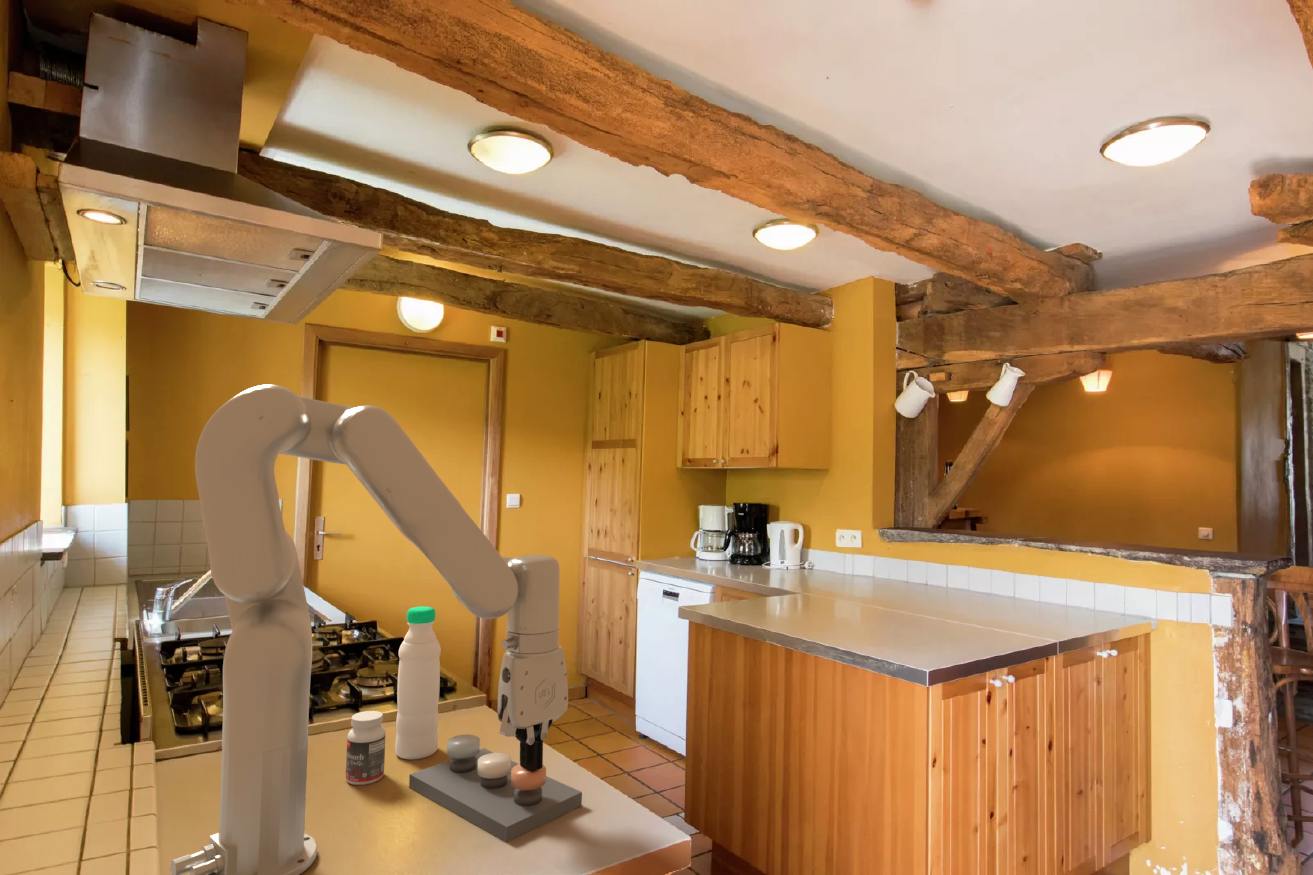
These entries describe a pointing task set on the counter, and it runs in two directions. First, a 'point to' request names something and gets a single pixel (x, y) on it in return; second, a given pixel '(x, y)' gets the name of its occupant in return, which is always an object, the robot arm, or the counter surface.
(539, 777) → the terracotta button
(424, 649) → the water bottle
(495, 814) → the button panel
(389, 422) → the robot arm
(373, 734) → the pill bottle
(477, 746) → the bluegrey button
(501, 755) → the white button
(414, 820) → the counter surface
